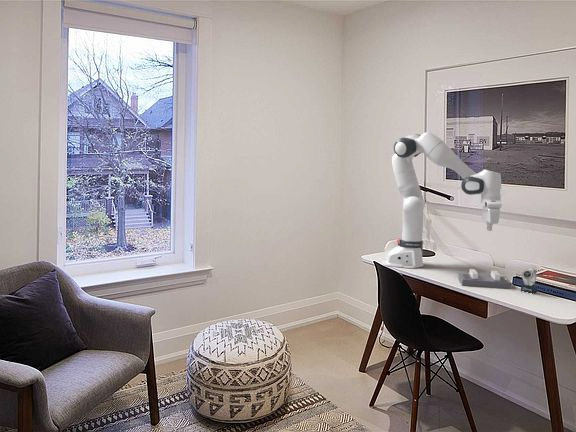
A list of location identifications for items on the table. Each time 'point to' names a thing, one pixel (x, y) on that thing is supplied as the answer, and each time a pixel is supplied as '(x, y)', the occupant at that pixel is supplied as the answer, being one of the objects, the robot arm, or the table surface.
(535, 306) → the table surface
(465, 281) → the power strip
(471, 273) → the left switch
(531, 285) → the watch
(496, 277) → the right switch
